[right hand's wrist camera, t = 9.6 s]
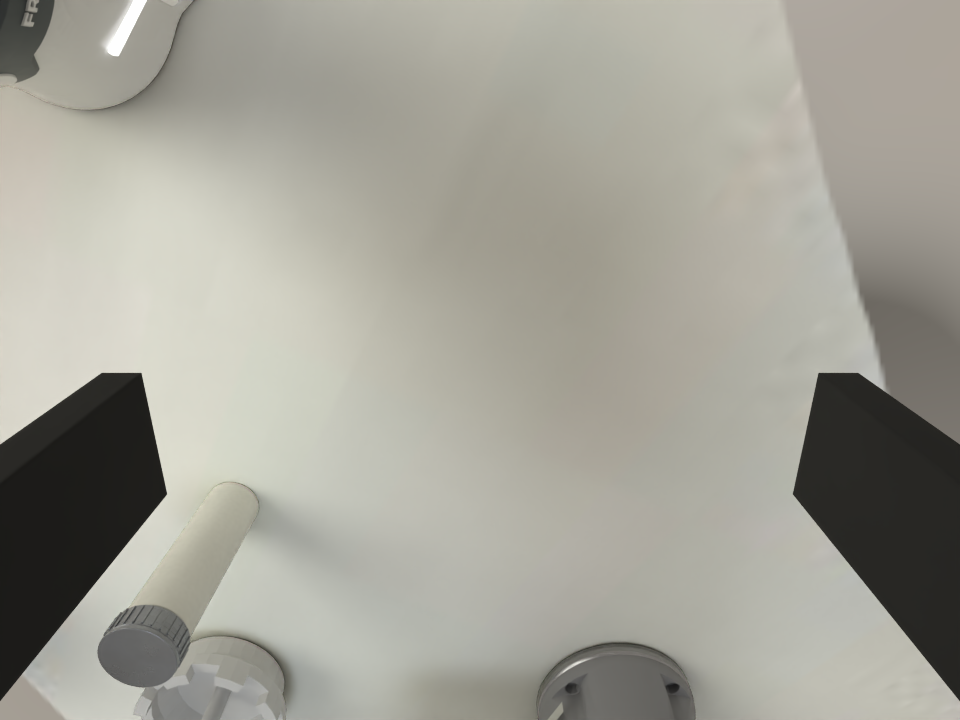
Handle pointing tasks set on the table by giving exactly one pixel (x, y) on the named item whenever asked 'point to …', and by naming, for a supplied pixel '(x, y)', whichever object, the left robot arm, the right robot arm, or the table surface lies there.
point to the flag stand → (219, 685)
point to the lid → (144, 646)
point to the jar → (201, 554)
